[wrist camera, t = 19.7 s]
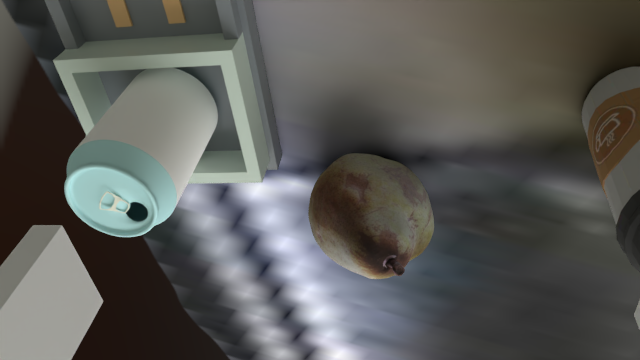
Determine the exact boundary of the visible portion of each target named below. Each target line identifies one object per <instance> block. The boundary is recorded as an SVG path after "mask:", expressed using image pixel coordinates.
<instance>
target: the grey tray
mask: <svg viewBox="0 0 640 360" xmlns="http://www.w3.org/2000/svg"><path fill="white" fill-rule="evenodd" d="M45 3H46V5H47V7H48V10H49V12H50V14H51V17H52V19H53V21H54V24H55V26H56V28H57V31H58V33H59V35H60V38H61V40H62V42H63V45H64V47H65V49H66V50H64V51H63V52H62V53H61V54H60V55H59V56H58V57H56V58H55V59H54V60H53V62H54V64H55V66H56V69H57V71H58V73H59V75H60V78H61V80H62V82H63V84H64V87H65V89H66V91H67V93H68V95H69V98H70V100H71V102H72V104H73V107H74V109H75V111H76V113H77V116H78V118H79V120H80V122H81V124H82V127H83V129H84V131H85V133H86V136H87V135H88V133H89V132H90V131H91V130H92V129H93V127H94V126H95V125H96V124H97V123H98V121H99V120H100V119H101V118H102V117H103V115H104V114H105V113H106V112H107V111H108V109H109V108H110V107H111V106H112V105H113V103H114V102H115V101H116V100H117V99H118V97H119V96H120V95H121V94H122V93H123V91H124V90H125V89H126V88H127V86H128V85H129V84H130V83H131V82H132V80H133V79H134V78H135V77H136V76H137V75H138V74H139V73H141V72H142V71H144V70H146V69H156V68H176V69H179V70H182V71H184V72H186V73H188V74H190V75H192V76H193V77H195V78H196V79H198V80H199V81H200V82H201V83H202V84H203V85H204V86H205V87H206V88H207V89H208V91H209V92H210V93H211V95H212V97H213V99H214V101H215V103H216V106H217V111H218V121H217V125H216V128H215V130H214V132H213V134H212V136H211V138H210V140H209V142H208V144H207V146H206V148H205V150H204V152H203V154H202V156H201V158H200V160H199V162H198V164H197V166H196V168H195V170H194V172H193V174H192V176H191V177H190V179H189V181H188V183H256V182H262V181H263V178H264V175H265V173H266V170H275V169H278V167H279V164H280V161H281V157H282V152H281V147H280V142H279V137H278V132H277V127H276V121H275V116H274V111H273V106H272V101H271V96H270V91H269V85H268V80H267V75H266V70H265V65H264V60H263V54H262V49H261V44H260V39H259V34H258V29H257V24H256V18H255V13H254V8H253V3H252V0H45Z"/></svg>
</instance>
